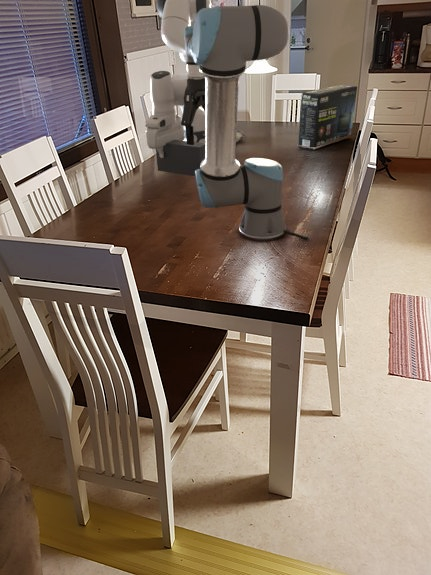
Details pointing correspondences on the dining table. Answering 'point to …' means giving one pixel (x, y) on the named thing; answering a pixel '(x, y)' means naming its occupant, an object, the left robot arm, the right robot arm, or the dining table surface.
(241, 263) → the dining table surface
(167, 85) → the left robot arm
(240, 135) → the fossil
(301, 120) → the router box
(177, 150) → the box
